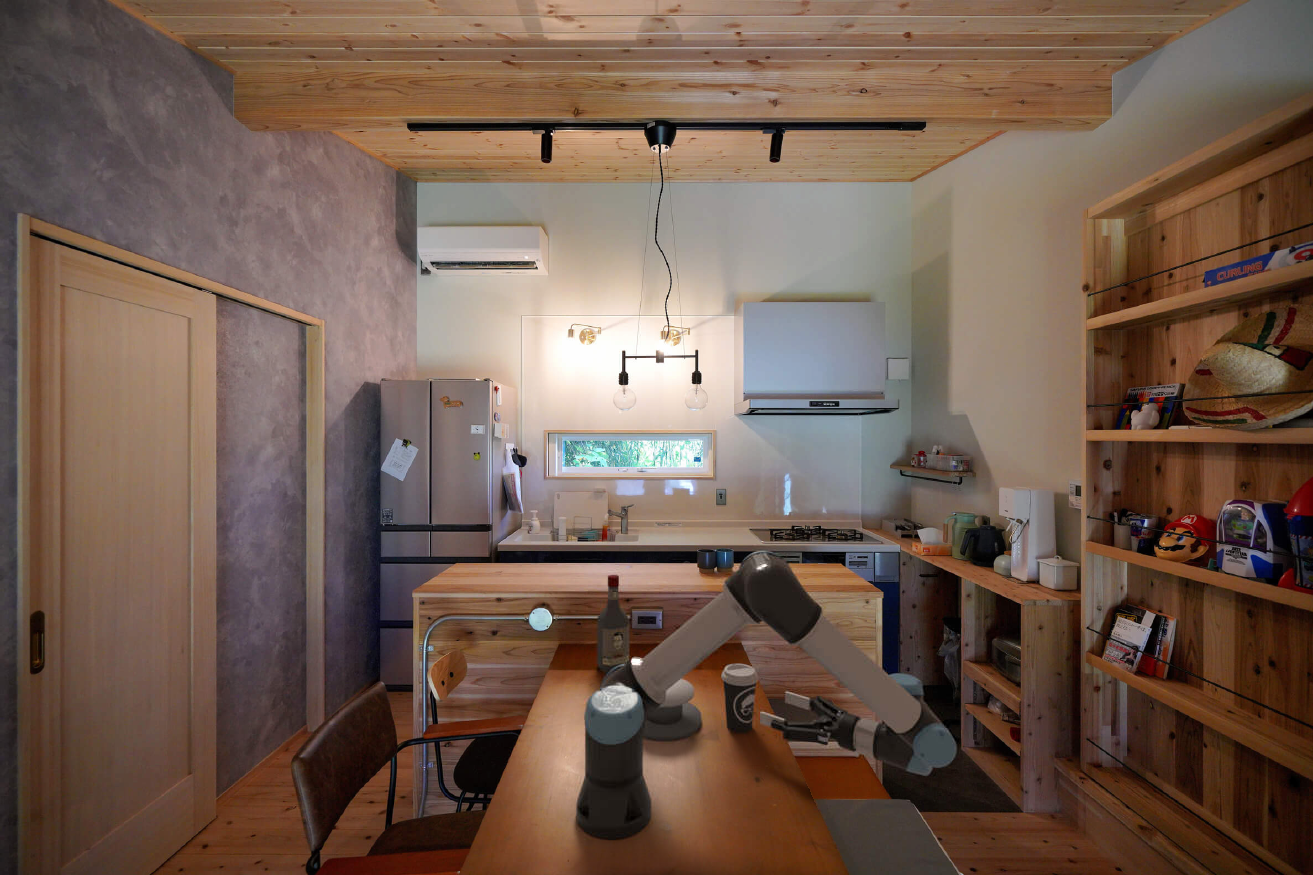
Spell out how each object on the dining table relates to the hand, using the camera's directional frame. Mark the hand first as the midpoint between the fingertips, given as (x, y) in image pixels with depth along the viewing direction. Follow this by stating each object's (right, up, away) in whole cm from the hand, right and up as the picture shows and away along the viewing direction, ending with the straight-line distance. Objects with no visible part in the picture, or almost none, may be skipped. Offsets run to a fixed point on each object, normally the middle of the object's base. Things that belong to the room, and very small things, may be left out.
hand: (773, 706), depth 142 cm
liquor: (-44, -8, +43) cm, 62 cm away
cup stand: (-28, -8, +9) cm, 30 cm away
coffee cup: (-8, -8, +6) cm, 13 cm away
